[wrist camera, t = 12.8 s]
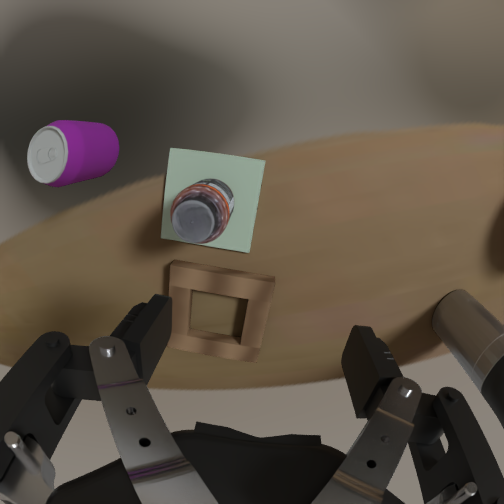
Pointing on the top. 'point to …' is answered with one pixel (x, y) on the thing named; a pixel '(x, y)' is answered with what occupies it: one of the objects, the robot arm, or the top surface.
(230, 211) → the supplement bottle
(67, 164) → the beverage can
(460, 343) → the robot arm
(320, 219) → the top surface
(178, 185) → the pad
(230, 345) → the socket block
